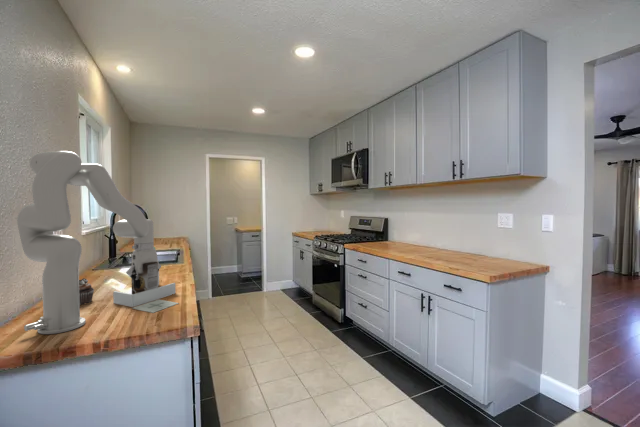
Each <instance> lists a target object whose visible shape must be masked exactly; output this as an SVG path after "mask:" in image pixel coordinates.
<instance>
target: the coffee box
mask: <svg viewBox="0 0 640 427" xmlns="http://www.w3.org/2000/svg"><path fill="white" fill-rule="evenodd" d="M158 262H159V261H158ZM158 262H150V263H145V264H143V273H142V274H140V276H139V280H140V288H139V289H136V288H134V286H133V279H132V278H131V294H136V293H140V292H143V291H147V290H150V289H154V288H157V287H159V286H158ZM134 270H135V269H134ZM132 273H133V272H132ZM133 274H134V273H133ZM136 275H137V274H136Z"/></svg>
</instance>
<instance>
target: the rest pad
mask: <svg viewBox="0 0 640 427" xmlns="http://www.w3.org/2000/svg"><path fill="white" fill-rule="evenodd" d="M176 304H177V305H179V304H180V303H179V302H175V301H170V300H165V299H161V298H160V299H157V300H154V301H151V302H147V303H144V304H141V305H138V306H135V307H131V308H132V309H133V310H138V311H142V312H146V313H152V314H154V313H156V312H160V311H163V310H165V309H168V308H171V307H174V306H176Z"/></svg>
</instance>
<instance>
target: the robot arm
mask: <svg viewBox="0 0 640 427" xmlns="http://www.w3.org/2000/svg"><path fill="white" fill-rule="evenodd" d="M82 162H83V161H82V158H81V157H80V155H78V154H77V153H75V152H73V151H68V150H56V151H47V152H46V151H45V152H44V151H43V152H38V153H36V154H34V155H33V156H32V157H31V158H30V160H29V167H30V169H31V171H33V173H34V174H35V176H34V177H33V181H32V184H31V192H32V193H31V194H32V198H33V199H32V200H33V203H31V204H28V205H25V206H24V207H22V208H21V209H20V210H19V213H18V215H17V217H16V218H17V219H16V223H17V228H18V233H19V234H18V235H19V239H20V242H21V247H22V251H23V253H24V255H25V257H27V258H28V259H29V260H31V261H34V262H40V263H46V264H45V267H44V269H43V272H42V275H41V276H42V277H41V278H42V279H41V282H42V283H41V284H42V308H43V309H42V312H43V316H41V317H39V319H38V320H36V322H32V323H28V324H25V325H24V327H23V330H24V331H25V332H28V331H31V330H34V331H37V333H38V334H40V335H54V334H55V335H56V334H60V333H65V332H69V331H73V330H76V329H78V328H80V327H82V326H84V325H85V324H86V322H87V321H86V318H85V317H81V311H80V310H81V307H80V306H81V305H80V300H79V280H80V261H81V255H82V250H83V249H82V248H83V247H82V245H81V242H80V240H78V238H76V237H74V236H70V235H67V234H54V233H55V232H63V231H65V230H67V229H68V228H69V227H70V226H71V224H72V217H71V216H72V215H71V210H70V206H69V199H68V193H67V192H68V191H67V188H68V185H71V186H75V187H86V188H87V189H88V190H89V192H90V194H91V195H92V197H93V198H94V200H95V201H96V203H97V205H98V206H99V207H101V208H103V209H104V210H107V211H110V212H112V213H114V214H116V215H118V216H120V217H122V218H123V219H121V220H118V221H116V222H115V223H114V224H113V227H112V232H113V234H114V235H116V236H117V237H119V238H133V240H134V242H133V243H134V244H133V245H132V246H131V248H132V249H133V251H132V254H131V255H132V256H131V263H130V264H131V265H130V268H129V269H127V271H126V272H125V273H126V275H128V277H129V278H131V280H132V279H133V286H134V288H136V289H139V288H140V280H139V276H140V274H142V273H143V264H145V263H150V262H159V260H158V255H157V254H158V253H157V250H156V248H155V249H154V247H155V245H154V244H155V243H154V236H155V235H154V220H152V219H150V218H148V219H147V218H146V216H145V214H144V213H143V212H142V210H141V209H139V207H138V206H137V205H135V204H134V203H133V202H132V201H130V200H129V199H127V198H125V197H124V196H123V195H122V193H121V192H120V190H119V189H118V187H117V186H116V184H115V182H114V180H113V178H112V177H111V175H110V174H109V172H108V171H107V169H106V168H105V167H104V165H101V164H99V163H93V162H92V163H91V162H89V163H88V162H87V163H82ZM161 268H162V264H160V263H158V271H159V272H160V270H161ZM134 269H135V270H134ZM132 272H133V273H134V274H133V273H132ZM136 274H137V275H136Z"/></svg>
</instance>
